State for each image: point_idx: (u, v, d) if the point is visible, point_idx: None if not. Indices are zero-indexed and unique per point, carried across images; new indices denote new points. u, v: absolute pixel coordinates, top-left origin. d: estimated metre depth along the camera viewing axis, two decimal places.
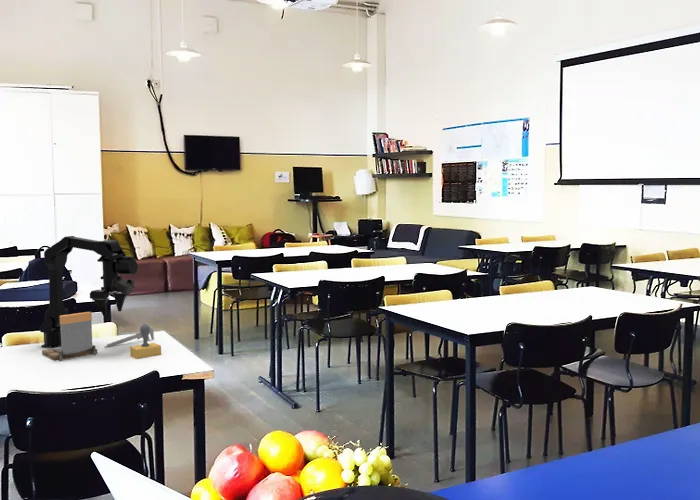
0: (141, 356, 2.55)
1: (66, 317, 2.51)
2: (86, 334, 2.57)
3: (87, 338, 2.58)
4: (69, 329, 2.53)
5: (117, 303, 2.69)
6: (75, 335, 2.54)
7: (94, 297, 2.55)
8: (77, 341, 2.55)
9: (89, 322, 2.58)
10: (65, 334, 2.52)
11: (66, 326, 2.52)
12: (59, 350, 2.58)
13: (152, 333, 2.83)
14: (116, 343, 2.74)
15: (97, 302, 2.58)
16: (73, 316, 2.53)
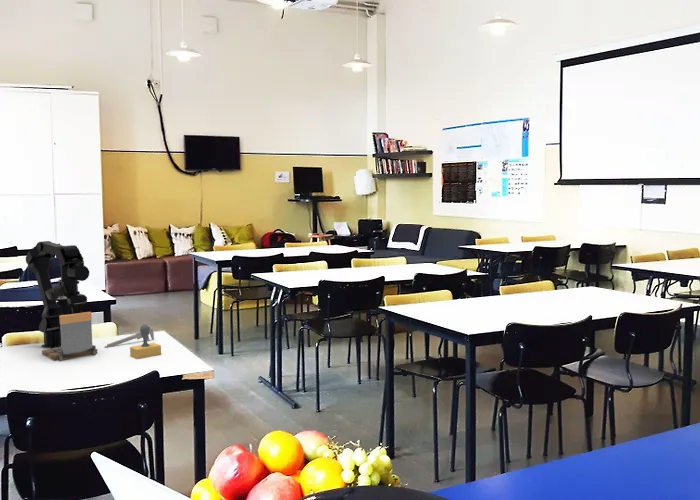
0: (141, 356, 2.55)
1: (66, 317, 2.52)
2: (86, 334, 2.57)
3: (87, 338, 2.58)
4: (69, 329, 2.53)
5: None
6: (75, 335, 2.54)
7: None
8: (77, 341, 2.55)
9: (89, 322, 2.58)
10: (64, 334, 2.52)
11: (66, 326, 2.52)
12: (59, 350, 2.58)
13: (152, 333, 2.83)
14: (116, 343, 2.74)
15: None
16: (73, 316, 2.53)
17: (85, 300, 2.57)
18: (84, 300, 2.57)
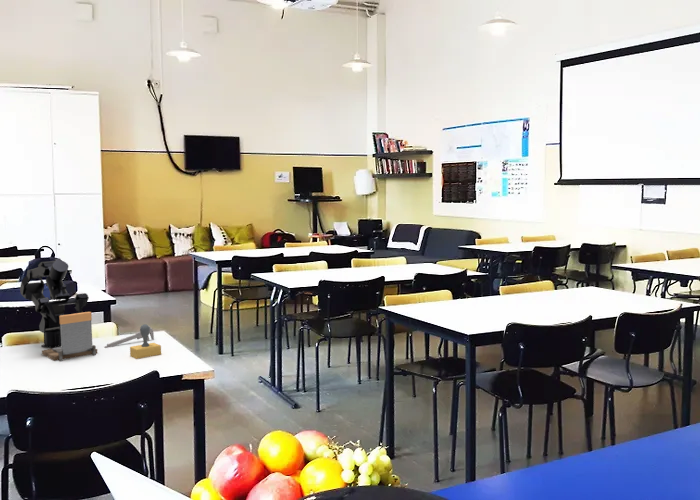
0: (141, 356, 2.55)
1: (66, 317, 2.52)
2: (86, 334, 2.57)
3: (87, 338, 2.58)
4: (69, 329, 2.53)
5: None
6: (75, 335, 2.54)
7: None
8: (77, 341, 2.55)
9: (89, 322, 2.58)
10: (64, 334, 2.52)
11: (66, 326, 2.52)
12: (59, 350, 2.58)
13: (152, 333, 2.83)
14: (116, 343, 2.74)
15: None
16: (73, 316, 2.53)
17: (38, 302, 2.56)
18: (38, 303, 2.56)
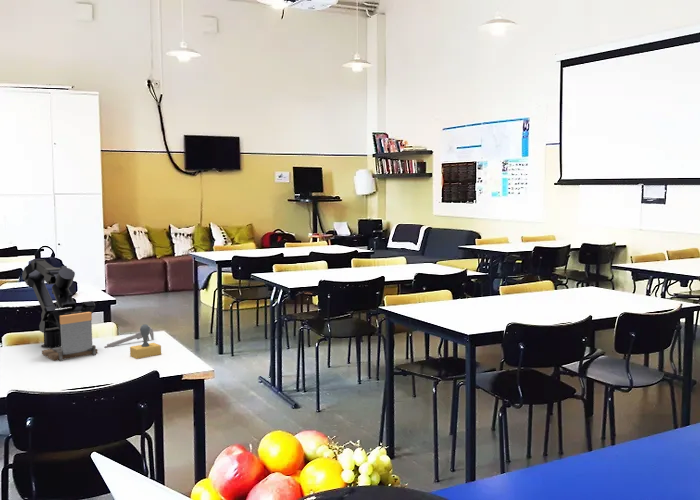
0: (141, 356, 2.55)
1: (66, 317, 2.51)
2: (86, 334, 2.57)
3: (87, 338, 2.58)
4: (69, 329, 2.53)
5: None
6: (75, 335, 2.54)
7: None
8: (77, 341, 2.55)
9: (89, 322, 2.58)
10: (65, 334, 2.52)
11: (66, 326, 2.52)
12: (59, 350, 2.58)
13: (152, 333, 2.83)
14: (116, 343, 2.74)
15: None
16: (73, 316, 2.53)
17: (44, 311, 2.52)
18: (44, 311, 2.52)
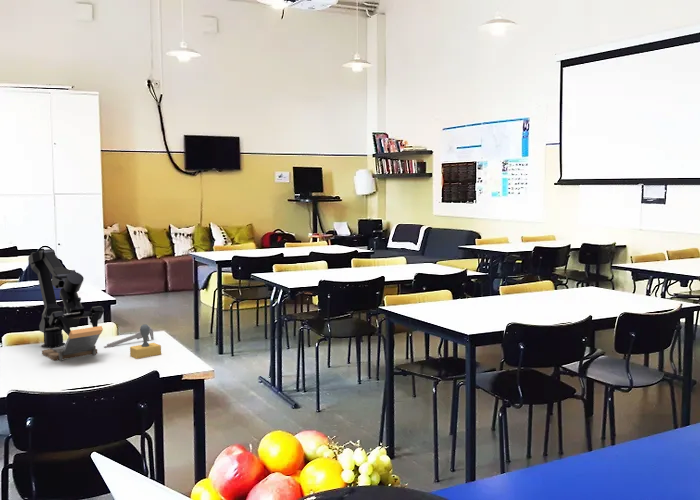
0: (141, 356, 2.55)
1: (77, 334, 2.45)
2: (91, 342, 2.54)
3: (91, 344, 2.56)
4: (76, 340, 2.49)
5: None
6: (79, 343, 2.51)
7: None
8: (80, 346, 2.53)
9: (97, 335, 2.53)
10: (70, 344, 2.48)
11: (74, 339, 2.47)
12: (59, 350, 2.58)
13: (152, 333, 2.83)
14: (116, 343, 2.74)
15: None
16: (84, 333, 2.47)
17: (52, 316, 2.46)
18: (52, 317, 2.46)
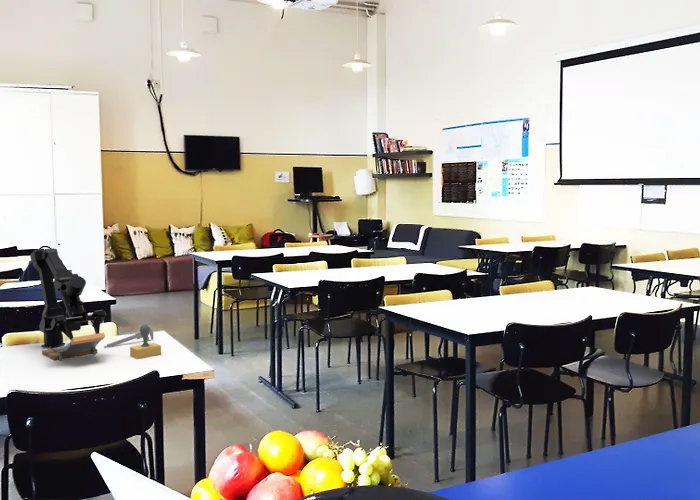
0: (141, 356, 2.55)
1: (78, 341, 2.44)
2: (91, 345, 2.54)
3: (91, 346, 2.55)
4: (77, 345, 2.48)
5: None
6: (80, 346, 2.51)
7: None
8: (80, 348, 2.53)
9: (99, 340, 2.52)
10: (71, 347, 2.48)
11: (75, 344, 2.46)
12: (59, 350, 2.58)
13: (152, 333, 2.83)
14: (116, 343, 2.74)
15: None
16: (86, 340, 2.46)
17: (54, 321, 2.45)
18: (54, 321, 2.45)
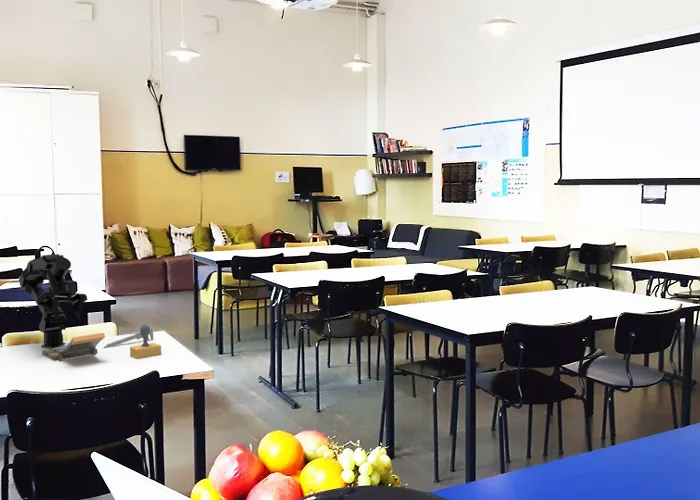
0: (141, 356, 2.55)
1: (78, 341, 2.44)
2: (91, 345, 2.54)
3: (91, 346, 2.55)
4: (77, 345, 2.48)
5: None
6: (80, 346, 2.51)
7: None
8: (80, 348, 2.53)
9: (99, 340, 2.52)
10: (71, 347, 2.48)
11: (75, 344, 2.46)
12: (59, 350, 2.58)
13: (152, 333, 2.83)
14: (116, 343, 2.74)
15: None
16: (86, 340, 2.46)
17: (45, 296, 2.55)
18: (44, 296, 2.55)
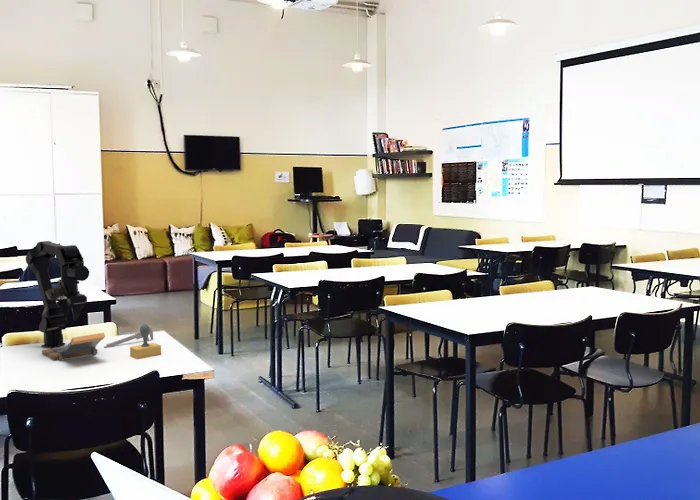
0: (141, 356, 2.55)
1: (78, 341, 2.44)
2: (91, 345, 2.54)
3: (91, 346, 2.55)
4: (77, 345, 2.48)
5: None
6: (80, 346, 2.51)
7: None
8: (80, 348, 2.53)
9: (99, 340, 2.52)
10: (71, 347, 2.48)
11: (75, 344, 2.46)
12: (59, 350, 2.58)
13: (151, 333, 2.83)
14: (116, 343, 2.74)
15: None
16: (86, 340, 2.46)
17: (85, 300, 2.57)
18: (84, 300, 2.57)
